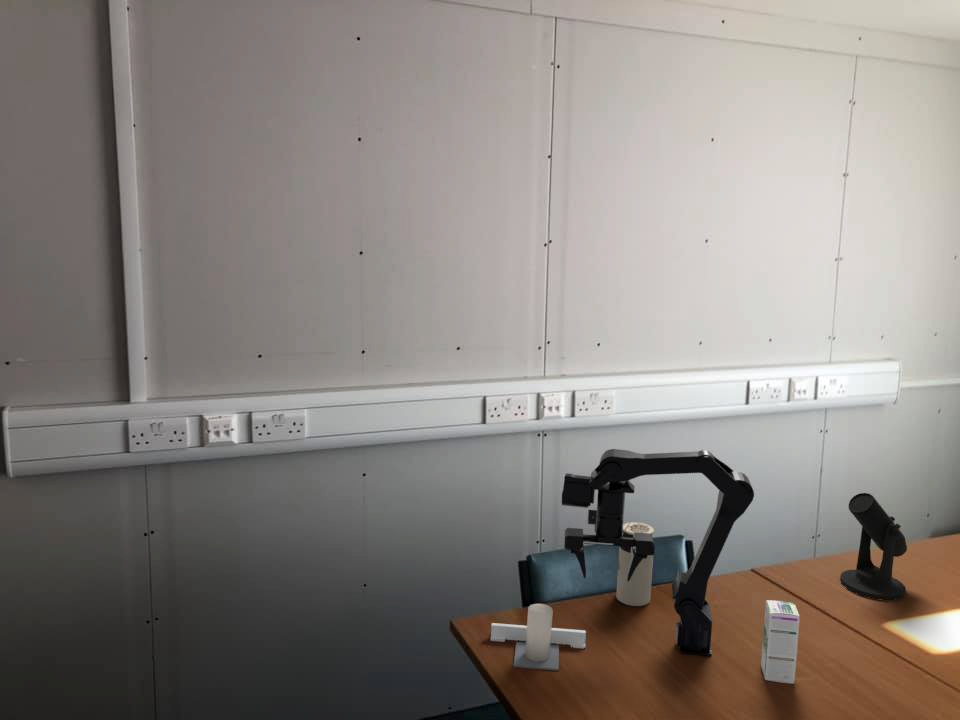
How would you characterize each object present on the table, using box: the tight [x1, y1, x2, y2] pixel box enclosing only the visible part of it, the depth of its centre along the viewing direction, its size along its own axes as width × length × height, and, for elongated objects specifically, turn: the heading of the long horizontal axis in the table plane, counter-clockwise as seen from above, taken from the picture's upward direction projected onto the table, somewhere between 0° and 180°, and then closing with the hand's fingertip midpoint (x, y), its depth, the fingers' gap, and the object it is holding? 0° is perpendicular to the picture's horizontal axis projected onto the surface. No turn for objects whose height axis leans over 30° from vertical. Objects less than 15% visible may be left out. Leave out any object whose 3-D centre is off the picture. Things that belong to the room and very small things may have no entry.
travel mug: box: [615, 521, 655, 607], centre depth 183 cm, size 8×8×18 cm
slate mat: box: [513, 641, 560, 671], centre depth 158 cm, size 9×9×1 cm
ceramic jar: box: [525, 603, 554, 662], centre depth 157 cm, size 5×5×10 cm
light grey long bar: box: [490, 622, 587, 649], centre depth 164 cm, size 20×3×3 cm, turn 84°
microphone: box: [839, 492, 908, 601], centre depth 193 cm, size 15×17×25 cm
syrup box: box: [760, 599, 800, 685], centre depth 153 cm, size 6×6×14 cm
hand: (606, 578), depth 165 cm, fingers open, 9 cm apart
